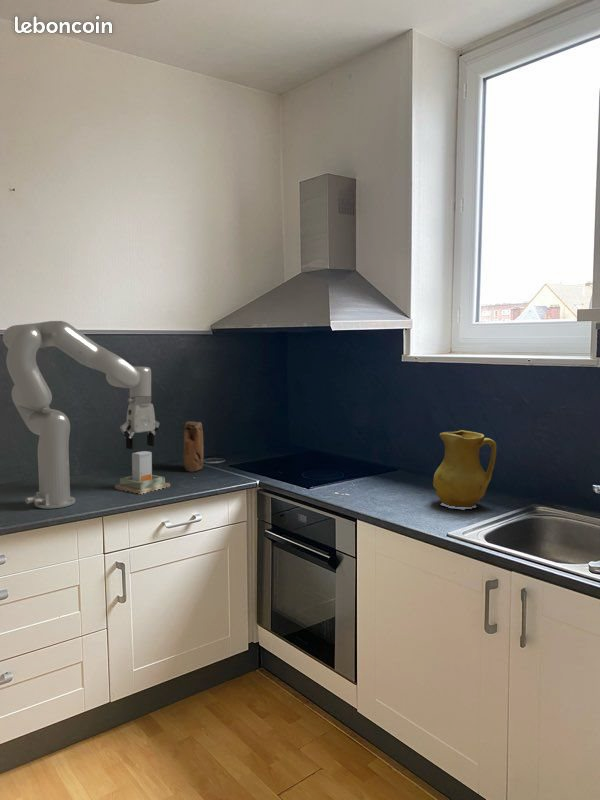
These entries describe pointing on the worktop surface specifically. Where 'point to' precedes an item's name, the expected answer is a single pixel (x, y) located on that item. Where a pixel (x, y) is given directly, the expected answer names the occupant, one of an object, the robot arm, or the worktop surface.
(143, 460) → the skincare box
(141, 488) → the socket stand
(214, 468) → the worktop surface
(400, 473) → the worktop surface
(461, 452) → the pitcher
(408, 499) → the worktop surface
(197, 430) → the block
